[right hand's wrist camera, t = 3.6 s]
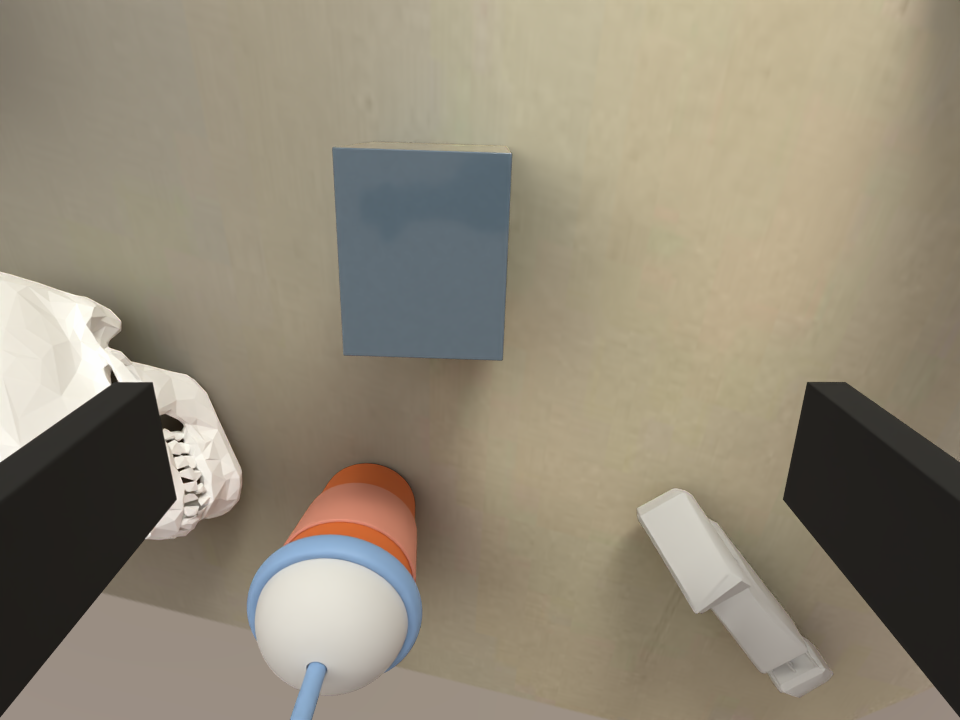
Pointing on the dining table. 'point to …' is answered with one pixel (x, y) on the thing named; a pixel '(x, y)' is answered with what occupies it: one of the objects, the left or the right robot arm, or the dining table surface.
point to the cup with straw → (341, 588)
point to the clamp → (731, 591)
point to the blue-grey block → (422, 248)
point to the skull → (86, 372)
